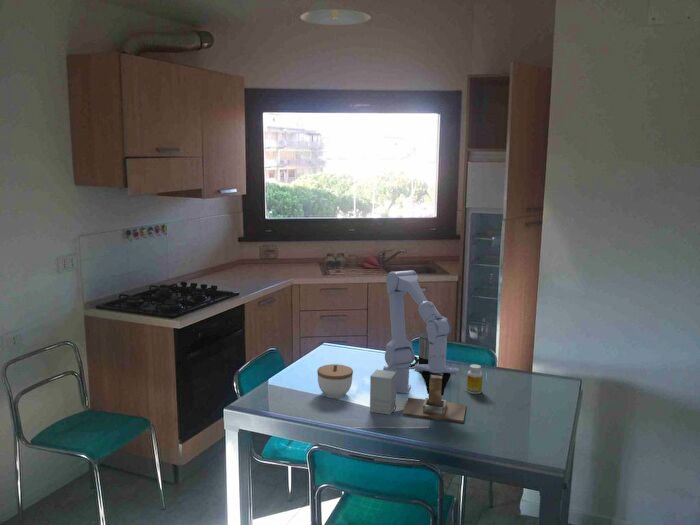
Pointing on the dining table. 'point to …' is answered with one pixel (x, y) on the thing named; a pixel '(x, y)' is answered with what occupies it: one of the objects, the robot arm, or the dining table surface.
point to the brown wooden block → (435, 389)
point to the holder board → (434, 410)
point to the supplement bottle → (474, 379)
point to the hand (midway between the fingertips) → (435, 393)
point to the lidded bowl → (334, 380)
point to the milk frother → (422, 351)
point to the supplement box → (383, 391)
